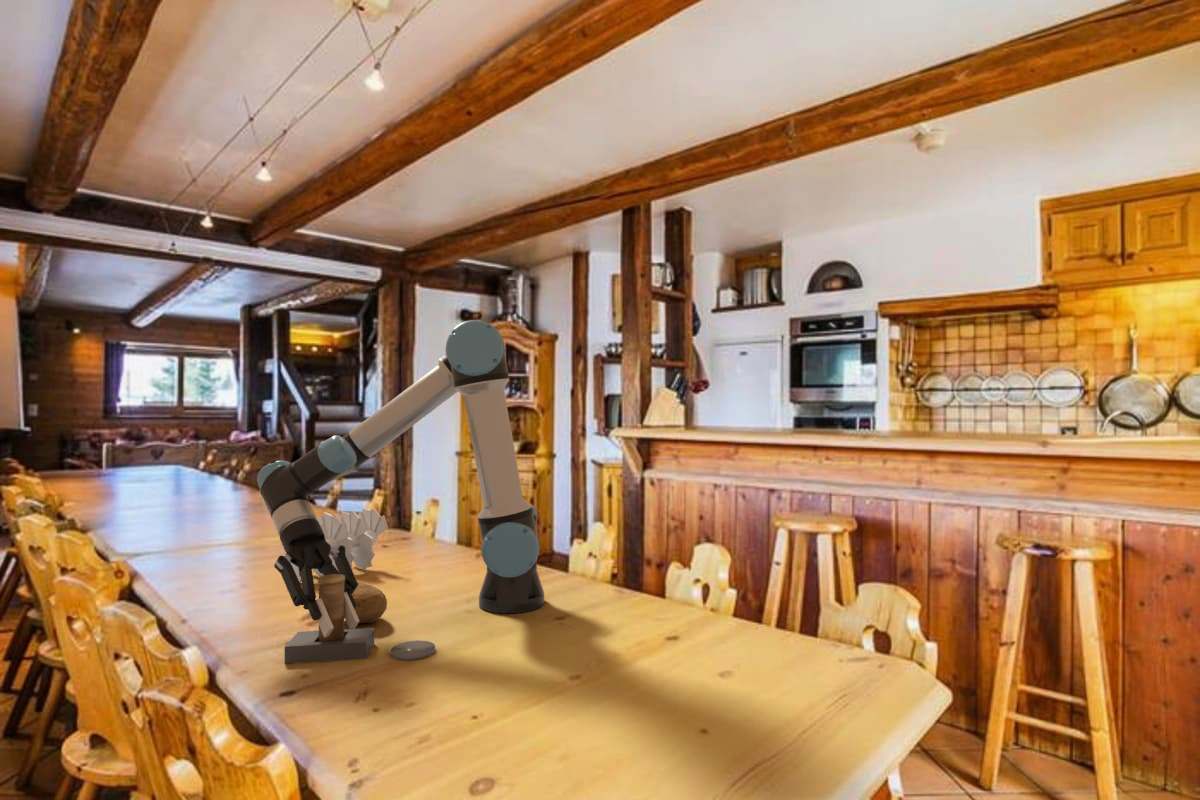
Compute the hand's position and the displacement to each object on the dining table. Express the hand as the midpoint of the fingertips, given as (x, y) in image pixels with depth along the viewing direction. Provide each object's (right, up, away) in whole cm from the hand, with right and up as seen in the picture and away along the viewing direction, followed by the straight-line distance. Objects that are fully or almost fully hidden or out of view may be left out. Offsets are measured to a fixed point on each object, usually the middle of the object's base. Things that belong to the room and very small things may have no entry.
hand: (342, 629), depth 120 cm
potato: (-4, -6, +20) cm, 22 cm away
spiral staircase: (-26, -7, +60) cm, 66 cm away
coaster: (+12, -5, +3) cm, 14 cm away
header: (-3, -5, +2) cm, 6 cm away
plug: (-3, -5, +2) cm, 6 cm away
